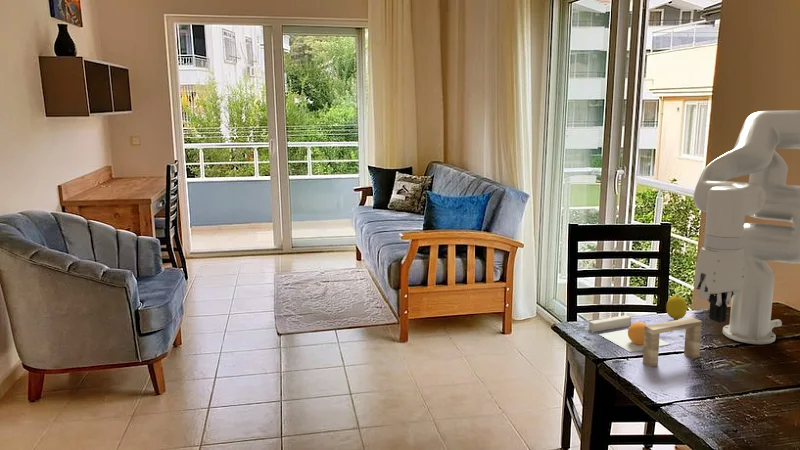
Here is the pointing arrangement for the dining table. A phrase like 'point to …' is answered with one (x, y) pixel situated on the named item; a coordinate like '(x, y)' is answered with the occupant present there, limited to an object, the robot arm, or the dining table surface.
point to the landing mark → (626, 340)
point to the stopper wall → (609, 323)
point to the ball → (637, 333)
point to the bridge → (654, 331)
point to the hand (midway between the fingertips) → (717, 320)
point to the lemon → (676, 307)
